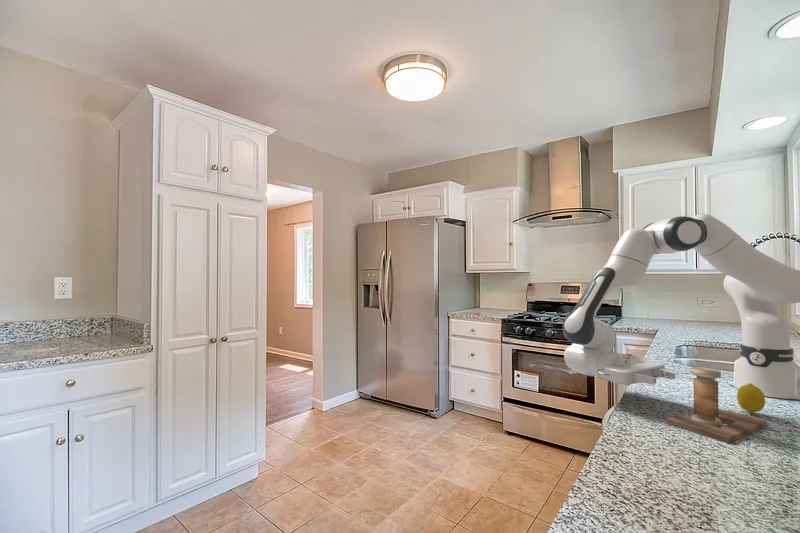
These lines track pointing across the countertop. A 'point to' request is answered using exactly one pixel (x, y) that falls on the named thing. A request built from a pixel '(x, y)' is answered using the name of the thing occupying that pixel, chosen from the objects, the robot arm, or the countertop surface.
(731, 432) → the notched board
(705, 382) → the bobbin
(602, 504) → the countertop surface
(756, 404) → the lemon
